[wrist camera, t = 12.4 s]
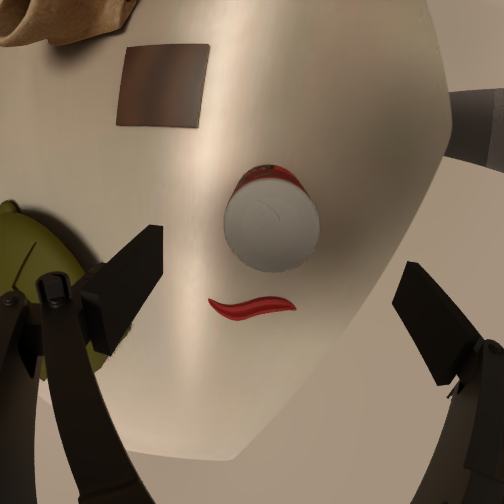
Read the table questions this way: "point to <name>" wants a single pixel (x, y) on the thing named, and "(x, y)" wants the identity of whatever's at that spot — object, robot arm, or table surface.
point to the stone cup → (59, 20)
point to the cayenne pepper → (252, 307)
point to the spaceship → (35, 263)
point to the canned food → (271, 220)
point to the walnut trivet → (162, 85)
